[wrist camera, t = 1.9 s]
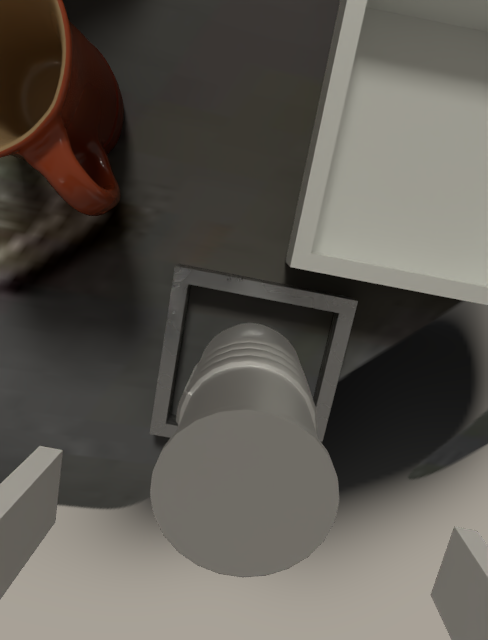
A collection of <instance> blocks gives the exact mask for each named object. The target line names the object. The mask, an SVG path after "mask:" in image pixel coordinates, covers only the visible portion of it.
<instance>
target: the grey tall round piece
mask: <svg viewBox="0 0 488 640" xmlns="http://www.w3.org/2000/svg"><path fill="white" fill-rule="evenodd" d="M176 422H177V423H178V429H177V431H176V432H175V433H174V435H173V436H172V437H171V438H170V439H169V441H168V442H167V443H166V444H165V445H164V447H163V449H162V451H161V454H160V456H159V458H158V461H157V463H156V465H155V468H154V470H153V472H152V481H151V490H150V497H151V503H152V508H153V514H154V517H155V519H156V521H157V523H158V525H159V527H160V529H161V531H162V533H163V535H164V536H165V538H167V540H168V541H169V542H170V543H171V544H172V545H173V547H174V548H175V549H176V550H177V551H178V552H179V553H180V554H182V555H183V556H185V557H186V558H188V559H189V560H191V561H192V562H193V563H195V564H197V565H198V566H201V567H203V568H206V569H208V570H211V571H213V572H216V573H219V574H224V575H231V576H238V577H252V576H266V575H269V574H273V573H276V572H279V571H282V570H285V569H289V568H290V567H292V566H293V565H295V564H297V563H299V562H300V561H302V560H304V559H305V558H307V557H309V556H310V554H311V553H313V551H315V549H316V548H317V547H318V546H319V545H320V544H321V543H322V542H323V541H324V540H325V538H326V536H327V535H328V533H329V531H330V529H331V527H332V525H333V524H334V521H335V517H336V513H337V509H338V504H339V490H338V478H337V475H336V472H335V469H334V467H333V464H332V461H331V459H330V456H329V454H328V451H327V450H326V449H325V447H324V446H323V445H322V443H321V442H320V441H319V439H318V437H317V428H318V422H317V410H316V406H315V404H314V401H313V397H312V395H311V392H310V389H309V386H308V383H307V380H306V377H305V374H304V372H303V369H302V367H301V365H300V361H299V359H298V356H297V353H296V351H295V349H294V348H293V346H292V345H291V344H290V342H289V341H288V340H287V339H286V338H285V337H284V336H282V335H281V334H280V333H279V332H277V331H275V330H273V329H271V328H269V327H267V326H264V325H262V324H255V323H245V324H239V325H236V326H233V327H231V328H228V329H226V330H224V331H222V332H221V333H219V334H218V335H217V336H215V337H214V338H213V339H212V340H211V342H210V343H209V344H208V345H207V347H206V348H205V350H204V352H203V355H202V357H201V359H200V362H199V363H198V364H196V365H195V367H194V369H193V372H192V374H191V376H190V378H189V381H188V383H187V385H186V387H185V390H184V392H183V394H182V397H181V399H180V402H179V404H178V408H177V416H176Z"/></svg>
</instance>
